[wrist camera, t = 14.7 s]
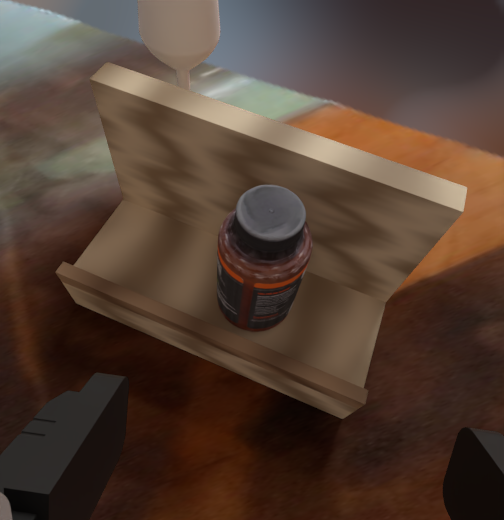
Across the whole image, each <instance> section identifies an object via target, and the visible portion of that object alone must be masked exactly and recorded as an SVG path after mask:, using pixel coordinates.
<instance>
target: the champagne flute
mask: <svg viewBox="0 0 504 520" xmlns="http://www.w3.org/2000/svg"><path fill="white" fill-rule="evenodd" d="M138 16H139V17H138V18H139V32H140V35H141V38H142V41H143V42H144V44H145V45H146V46H147V48H148V49H149V51H150V52H151V53H152V54H153V55H154V56H155V57H156V58H157V59H159V60H160V61H162V62H163V63H165V64H167V65H168V66H170V67H171V68H173V69H176V73H177V86H178V87H181V88H183V89H186V90H189V91H190V78H189V70H190V69H192V68H194V67H195V66H197V65H198V64H200V63H201V62H202V61H204V60H205V59H206V58H207V57H208V56H209V55H210V54H211V53H212V51H213V50H214V48H215V47H216V45H217V43H218V41H219V37H220V22H219V8H218V0H138Z"/></svg>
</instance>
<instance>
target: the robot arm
mask: <svg viewBox="0 0 504 520" xmlns="http://www.w3.org/2000/svg"><path fill="white" fill-rule="evenodd" d="M128 391H129V380H128V377H124V376H117V375H110V374H103V373H95V374H94V375H93V376H92V377H91V378H90V380H89V381H88V382H87V383H86V385H85V386H84V387H83V388H82V390H81V391H80V392H74V391H66V392H65V393H63V394H61V395H59V396H58V397H56V398H54V399H52V400H51V401H49V402H47V403H46V405H45V406H44V407H43V408H42V409H41V410H40V411H39V412H38V414H37V415H36V416H35V417H34V419H33V421H30V423H29V424H28V425H27V426H26V427H25V428H24V429H23V430H22V433H21V435H18V436H17V437H16V438H15V439H14V440H13V442H12V443H11V444H10V445H9V446H8V447H7V448H6V449H5V451H4V452H3V453H2V454H1V455H0V520H89V519H90V517H91V515H92V513H93V511H94V509H95V507H96V505H97V503H98V501H99V499H100V497H101V495H102V493H103V491H104V489H105V487H106V485H107V482H108V480H109V478H110V476H111V474H112V472H113V470H114V468H115V466H116V464H117V462H118V460H119V457H120V455H121V451H122V448H123V444H124V439H125V433H126V419H127V405H128ZM443 498H444V503H445V507H446V510H447V512H448V514H449V516H450V518H451V520H504V436H503V435H502V434H500V433H498V432H494V431H487V430H481V429H474V428H467V427H465V428H462V429H461V430H460V432H459V433H458V436H457V439H456V442H455V445H454V449H453V452H452V455H451V458H450V462H449V465H448V468H447V471H446V475H445V478H444V482H443Z"/></svg>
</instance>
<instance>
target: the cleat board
mask: <svg viewBox="0 0 504 520" xmlns="http://www.w3.org/2000/svg"><path fill="white" fill-rule="evenodd" d="M90 82H91V86H92V89H93V93H94V96H95V100H96V103H97V107H98V110H99V114H100V118H101V121H102V125H103V128H104V132H105V135H106V139H107V142H108V146H109V150H110V153H111V157H112V160H113V164H114V167H115V171H116V174H117V178H118V181H119V185H120V189H121V192H122V196H123V201H122V202H121V203H120V205H119V206H118V207H117V209H116V210H115V211H114V213H113V214H112V215H111V216H110V218H109V219H108V220H107V222H106V223H105V224H104V226H103V227H102V228H101V230H100V231H99V232H98V234H97V235H96V236H95V238H94V239H93V240H92V242H91V243H90V244H89V246H88V247H87V248H86V250H85V251H84V252H83V254H82V255H81V256H80V258H79V259H78V260H77V262H76V263H75V264H74V266H73V265H71V264H68V263H66V262H63V263H62V264H61V265H60V267H59V268H58V269H57V271H56V274H57V275H58V277H59V278H60V280H61V281H62V283H63V284H64V286H65V287H66V289H67V290H68V292H69V294H70V295H71V297H72V298H73V300H74V301H75V303H77V304H79V305H81V306H83V307H86V308H88V309H90V310H93V311H95V312H97V313H100V314H102V315H104V316H106V317H109V318H111V319H113V320H116V321H118V322H120V323H123V324H125V325H127V326H129V327H132V328H134V329H136V330H139V331H141V332H143V333H146V334H148V335H150V336H152V337H155V338H157V339H159V340H162V341H164V342H166V343H168V344H171V345H173V346H175V347H178V348H180V349H182V350H185V351H187V352H189V353H191V354H194V355H196V356H198V357H201V358H203V359H205V360H208V361H210V362H212V363H214V364H217V365H219V366H221V367H224V368H226V369H228V370H231V371H233V372H235V373H237V374H240V375H242V376H244V377H247V378H249V379H251V380H254V381H256V382H258V383H260V384H263V385H265V386H267V387H270V388H272V389H274V390H276V391H279V392H281V393H283V394H286V395H288V396H290V397H293V398H295V399H297V400H299V401H302V402H304V403H306V404H309V405H311V406H313V407H316V408H318V409H320V410H322V411H325V412H327V413H329V414H332V415H334V416H336V417H339V418H341V419H344V418H345V417H347V416H348V415H350V414H351V413H353V412H354V411H356V410H357V409H359V408H360V407H362V406H363V405H365V402H366V398H367V394H368V390H366V389H364V384H365V380H366V376H367V373H368V369H369V365H370V361H371V357H372V353H373V349H374V345H375V342H376V338H377V334H378V330H379V326H380V322H381V318H382V314H383V311H384V307H385V303H386V301H387V300H388V299H389V298H390V297H391V295H392V294H393V293H394V292H395V291H396V290H397V288H398V287H399V286H400V285H401V284H402V283H403V281H404V280H405V279H406V278H407V277H408V276H409V274H410V273H411V272H412V271H413V270H414V269H415V268H416V266H417V265H418V264H419V263H420V262H421V261H422V259H423V258H424V257H425V256H426V255H427V254H428V252H429V251H430V250H431V249H432V248H433V247H434V245H435V244H436V243H437V242H438V241H439V240H440V238H441V237H442V236H443V235H444V234H445V233H446V231H447V230H448V229H449V228H450V227H451V226H452V224H453V223H454V222H455V221H456V220H457V219H458V217H459V216H460V215H461V214H462V213H463V210H464V204H465V198H466V192H467V187H465V186H462V185H459V184H456V183H453V182H450V181H448V180H445V179H442V178H439V177H436V176H433V175H430V174H427V173H425V172H422V171H419V170H416V169H413V168H410V167H407V166H404V165H402V164H399V163H396V162H393V161H390V160H387V159H384V158H381V157H379V156H376V155H373V154H370V153H367V152H364V151H361V150H359V149H356V148H353V147H350V146H347V145H344V144H341V143H338V142H336V141H333V140H330V139H327V138H324V137H321V136H318V135H315V134H313V133H310V132H307V131H304V130H301V129H298V128H295V127H292V126H290V125H287V124H284V123H281V122H278V121H275V120H272V119H270V118H267V117H264V116H261V115H258V114H255V113H252V112H249V111H247V110H244V109H241V108H238V107H235V106H232V105H229V104H226V103H224V102H221V101H218V100H215V99H212V98H209V97H206V96H203V95H201V94H198V93H195V92H192V91H189V90H186V89H183V88H181V87H178V86H175V85H172V84H169V83H166V82H163V81H160V80H158V79H155V78H152V77H149V76H146V75H143V74H140V73H137V72H135V71H132V70H129V69H126V68H123V67H120V66H117V65H114V64H112V63H109V62H106V63H105V64H104V65H103V66H102V67H101V68H100V69H99V70H98V71H97V72H96V73H95V74H94V75H93V76H92V77H91V78H90ZM260 185H276V186H281V187H284V188H286V189H288V190H290V191H291V192H293V193H294V194H296V195H297V196H298V197H299V199H300V200H301V201H302V203H303V205H304V207H305V211H306V220H305V221H306V222H307V224H308V226H309V228H310V231H311V235H312V240H313V248H312V253H311V257H310V260H309V263H308V265H307V268H306V271H305V273H304V276H303V279H302V281H301V284H300V286H299V289H298V292H297V294H296V297H295V299H294V302H293V305H292V307H291V310H290V311H289V313H288V315H287V316H286V318H285V319H284V320H283V321H282V322H281V323H280V324H279V325H277V326H276V327H274V328H271V329H269V330H265V331H259V332H251V331H247V330H243V329H240V328H238V327H236V326H234V325H233V324H232V323H230V322H229V321H228V320H227V319H226V318H225V317H224V315H223V314H222V312H221V310H220V308H219V305H218V300H217V251H218V247H217V246H218V235H219V230H220V227H221V225H222V223H223V221H224V220H225V218H226V217H227V215H228V214H229V213H230V212H232V211H233V210H234V209H236V206H237V203H238V200H239V199H240V197H241V196H242V195H243V194H244V193H245V192H246V191H247V190H250V189H251V188H254V187H256V186H260Z"/></svg>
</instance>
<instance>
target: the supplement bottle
mask: <svg viewBox="0 0 504 520" xmlns="http://www.w3.org/2000/svg"><path fill="white" fill-rule="evenodd" d="M305 220H306V211H305V207H304V205H303V203H302V201H301V200H300V199H299V197H298V196H297V195H296V194H294V193H293V192H291V191H290V190H288V189H286V188H284V187H281V186H276V185H260V186H256V187H254V188H251V189H250V190H247V191H246V192H245V193H244V194H243V195H242V196H241V197H240V199H239V200H238V203H237V206H236V209H234V210H233V211H232V212H230V213H229V214H228V215H227V217H226V218H225V220H224V221H223V223H222V225H221V227H220V230H219V235H218V246H217V247H218V251H217V300H218V305H219V308H220V310H221V312H222V314H223V315H224V317H225V318H226V319H227V320H228V321H229V322H230V323H232V324H233V325H234V326H236V327H238V328H240V329H243V330H247V331H251V332H259V331H265V330H269V329H271V328H274V327H276V326H277V325H279V324H280V323H281V322H282V321H283V320H284V319H285V318H286V316H287V315H288V313H289V311H290V310H291V307H292V305H293V302H294V299H295V297H296V294H297V292H298V289H299V286H300V284H301V281H302V279H303V276H304V273H305V271H306V268H307V265H308V263H309V260H310V257H311V253H312V248H313V240H312V235H311V231H310V228H309V226H308V224H307V222H306V221H305Z"/></svg>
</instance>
